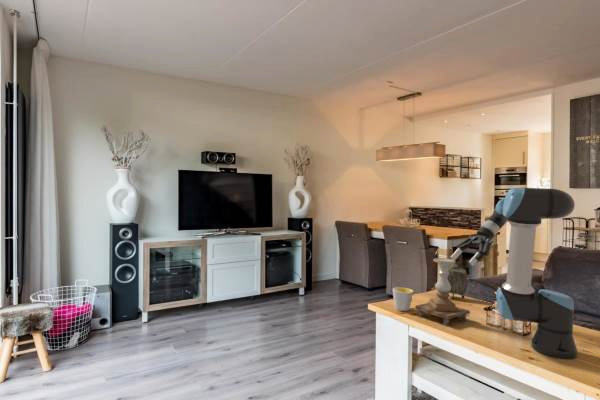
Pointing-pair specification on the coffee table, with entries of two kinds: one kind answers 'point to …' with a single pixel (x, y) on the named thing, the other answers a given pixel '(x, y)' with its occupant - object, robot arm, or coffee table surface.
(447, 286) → the candle holder
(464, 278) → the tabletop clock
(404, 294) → the mug
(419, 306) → the walnut stand
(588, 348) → the coffee table surface
